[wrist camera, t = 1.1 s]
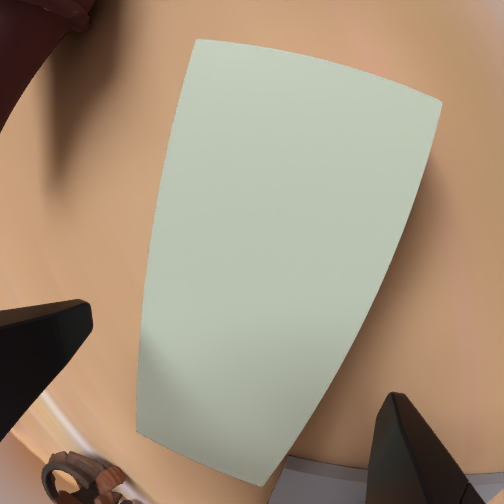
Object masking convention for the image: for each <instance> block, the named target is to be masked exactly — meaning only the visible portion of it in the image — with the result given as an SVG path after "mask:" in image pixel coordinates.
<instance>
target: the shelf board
mask: <svg viewBox="0 0 504 504" xmlns="http://www.w3.org/2000/svg"><path fill="white" fill-rule="evenodd" d="M442 103H443V102H442V101H440V100H438V99H435V98H433V97H431V96H429V95H426V94H424V93H422V92H419V91H417V90H414V89H412V88H409V87H407V86H404V85H402V84H399V83H396V82H394V81H391V80H388V79H385V78H382V77H380V76H377V75H374V74H371V73H368V72H365V71H361V70H358V69H355V68H352V67H348V66H345V65H341V64H338V63H334V62H330V61H327V60H323V59H319V58H315V57H311V56H306V55H302V54H297V53H293V52H288V51H283V50H278V49H272V48H267V47H261V46H254V45H248V44H241V43H233V42H225V41H215V40H204V39H196V42H195V45H194V48H193V52H192V55H191V58H190V62H189V65H188V69H187V72H186V76H185V79H184V83H183V86H182V90H181V94H180V98H179V102H178V105H177V109H176V113H175V118H174V122H173V126H172V130H171V134H170V139H169V143H168V148H167V153H166V157H165V162H164V167H163V172H162V177H161V182H160V187H159V193H158V198H157V204H156V210H155V216H154V222H153V228H152V235H151V241H150V248H149V256H148V263H147V271H146V279H145V288H144V297H143V307H142V318H141V329H140V342H139V358H138V378H137V412H136V432H138V433H140V434H141V435H143V436H145V437H147V438H149V439H151V440H152V441H154V442H156V443H158V444H160V445H162V446H164V447H166V448H168V449H170V450H172V451H174V452H176V453H178V454H180V455H182V456H184V457H187V458H189V459H191V460H193V461H195V462H198V463H200V464H202V465H204V466H207V467H209V468H212V469H214V470H216V471H219V472H221V473H224V474H226V475H229V476H232V477H234V478H237V479H240V480H242V481H245V482H248V483H251V484H254V485H257V486H260V487H263V485H264V484H265V483H266V481H267V480H268V479H269V477H270V476H271V475H272V473H273V472H274V471H275V469H276V468H277V466H278V465H279V464H280V462H281V461H282V459H283V458H284V456H285V455H286V454H287V452H288V451H289V449H290V448H291V446H292V445H293V443H294V442H295V440H296V439H297V437H298V436H299V434H300V433H301V431H302V430H303V428H304V427H305V425H306V423H307V422H308V420H309V419H310V417H311V415H312V414H313V412H314V411H315V409H316V407H317V406H318V404H319V402H320V401H321V399H322V397H323V396H324V394H325V392H326V391H327V389H328V387H329V386H330V384H331V382H332V380H333V379H334V377H335V375H336V373H337V371H338V370H339V368H340V366H341V364H342V362H343V361H344V359H345V357H346V355H347V353H348V351H349V349H350V347H351V345H352V344H353V342H354V340H355V338H356V336H357V334H358V332H359V330H360V328H361V326H362V324H363V322H364V320H365V318H366V316H367V314H368V312H369V309H370V307H371V305H372V303H373V301H374V299H375V297H376V294H377V292H378V290H379V288H380V286H381V283H382V281H383V279H384V277H385V274H386V272H387V270H388V267H389V265H390V263H391V260H392V258H393V255H394V253H395V250H396V248H397V245H398V243H399V240H400V238H401V235H402V233H403V230H404V227H405V225H406V222H407V219H408V217H409V214H410V211H411V208H412V206H413V203H414V200H415V197H416V194H417V191H418V188H419V185H420V182H421V179H422V176H423V173H424V170H425V166H426V163H427V160H428V156H429V153H430V150H431V146H432V142H433V139H434V135H435V131H436V128H437V124H438V120H439V116H440V112H441V108H442Z"/></svg>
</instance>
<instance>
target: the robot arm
mask: <svg viewBox="0 0 504 504" xmlns="http://www.w3.org/2000/svg"><path fill="white" fill-rule="evenodd" d="M92 329H93V319H92V311H91V306H90V304H89V303H88V302H86V301H84V300H81V299H75V300H68V301H62V302H56V303H49V304H42V305H36V306H29V307H22V308H16V309H9V310H2V311H0V442H1V441H2V439H3V438H4V437H5V436H6V434H7V433H8V432H9V431H10V430H11V428H12V427H13V426H14V425H15V424H16V422H17V421H18V420H19V419H20V418H21V416H22V415H23V414H24V413H25V412H26V410H27V409H28V408H29V407H30V406H31V405H32V403H33V402H34V401H35V400H36V399H37V398H38V397H39V395H40V394H41V393H42V392H43V391H44V390H45V389H46V387H47V386H48V385H49V384H50V383H51V382H52V381H53V379H54V378H55V377H56V376H57V375H58V374H59V373H60V372H61V371H62V369H63V368H64V367H65V366H66V365H67V364H68V362H69V361H70V360H71V358H72V357H73V356H74V354H75V353H76V352H77V350H78V349H79V348H80V346H81V345H82V344H83V342H84V341H85V340H86V338H87V337H88V336H89V334H90V333H91V332H92ZM468 482H469V480H468V478H467V477H466V476H465V474H464V473H463V471H462V470H461V469H460V467H459V466H458V464H457V463H456V462H455V460H454V459H453V458H452V456H451V455H450V453H449V452H448V451H447V449H446V448H445V447H444V445H443V444H442V443H441V441H440V440H439V439H438V437H437V436H436V434H435V433H434V432H433V430H432V429H431V428H430V426H429V425H428V424H427V422H426V421H425V420H424V418H423V417H422V416H421V414H420V413H419V412H418V411H417V409H416V408H415V407H414V405H413V404H412V403H411V401H410V400H409V399H408V397H407V396H406V395H405V394H403V393H397V392H390V393H389V394H388V395H387V397H386V399H385V401H384V403H383V405H382V407H381V409H380V411H379V412H378V415H377V418H376V423H375V430H374V436H373V443H372V449H371V455H370V460H369V466H368V475H367V489H366V501H365V504H486V503H485V502H484V500H483V499H482V498H481V496H480V495H479V494H478V492H477V491H476V489H475V488H474V487H473V485H472V484H471V483H470V482H469V483H468Z"/></svg>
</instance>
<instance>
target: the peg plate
mask: <svg viewBox="0 0 504 504" xmlns="http://www.w3.org/2000/svg"><path fill="white" fill-rule="evenodd" d="M367 475H368V470H365V469H357V468H350V467H344V466H338V465H332V464H327V463H321V462H316V461H311V460H306V459H302V458H297V457H293V456H289V455H288V456H287V459H286V461H285V464H284V466H283V468H282V471H281V473H280V475H279V478H278V480H277V482H276V484H275V487H274V489H273V491H272V493H271V496H270V498H269V500H268V502H267V504H365V501H366V489H367ZM465 476H466V477H467V478H468V480H469V482H470V483H471V484H472V485H473V487H474V488H475V489H476V491H477V492H478V494H479V495H480V496H481V498H482V499H483V500H484V502H485V503H487V502H489V501H490V500H491V499H492V498H493V497H494V496H495V495H496V494H497V493H499V492H500V491H501V490H502V489H503V488H504V472H502V473H490V474H472V475H465ZM469 482H468V483H469Z"/></svg>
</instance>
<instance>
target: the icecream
mask: <svg viewBox="0 0 504 504" xmlns="http://www.w3.org/2000/svg"><path fill="white" fill-rule="evenodd" d="M94 2H95V0H0V133H1V131H2V129H3V127H4V125H5V123H6V121H7V119H8V117H9V115H10V114H11V112H12V110H13V108H14V107H15V105H16V103H17V102H18V100H19V98H20V97H21V95H22V94H23V92H24V91H25V89H26V87H27V86H28V84H29V83H30V81H31V80H32V78H33V77H34V75H35V74H36V73H37V71H38V70H39V68H40V67H41V65H42V64H43V63H44V61H45V60H46V59H47V57H48V56H49V55H50V53H51V52H52V51H53V49H54V48H55V47H56V45H57V44H58V43H59V42H60V40H61V39H62V38H63V37H64V36H65V34H66V33H67V32H70V31H75V32H83V31H85V30H88V29H89V19H90V17H89V16H88V14H87V13H88V12H89V11H90V9H91V8H92V7H93V4H94Z"/></svg>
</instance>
